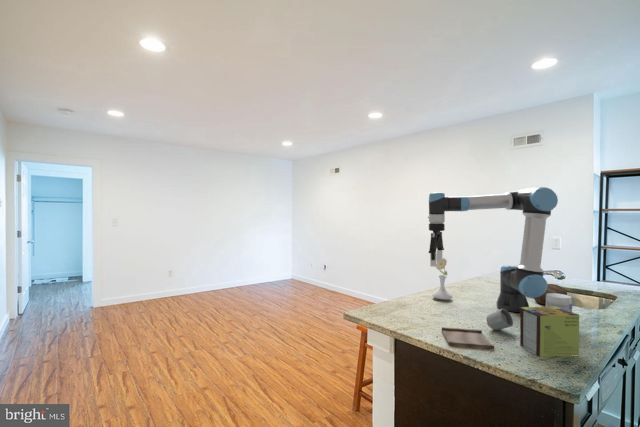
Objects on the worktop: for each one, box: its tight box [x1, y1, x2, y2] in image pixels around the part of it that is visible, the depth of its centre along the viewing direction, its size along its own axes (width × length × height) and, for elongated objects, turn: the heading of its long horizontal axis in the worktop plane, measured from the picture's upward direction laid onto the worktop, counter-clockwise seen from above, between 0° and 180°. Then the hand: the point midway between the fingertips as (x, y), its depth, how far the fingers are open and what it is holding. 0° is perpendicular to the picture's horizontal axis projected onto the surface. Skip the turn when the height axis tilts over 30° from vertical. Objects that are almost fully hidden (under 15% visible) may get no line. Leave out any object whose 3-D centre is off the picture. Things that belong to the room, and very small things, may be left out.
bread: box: [533, 283, 568, 306], centre depth 190 cm, size 16×36×8 cm, turn 137°
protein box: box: [519, 306, 580, 358], centre depth 119 cm, size 10×15×16 cm
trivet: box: [441, 326, 495, 350], centre depth 128 cm, size 16×16×2 cm
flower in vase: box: [432, 257, 453, 301], centre depth 188 cm, size 13×11×25 cm
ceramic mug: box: [486, 308, 514, 331], centre depth 138 cm, size 11×8×8 cm
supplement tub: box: [545, 293, 573, 312], centre depth 143 cm, size 10×10×15 cm
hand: (436, 264), depth 161 cm, fingers open, 13 cm apart
